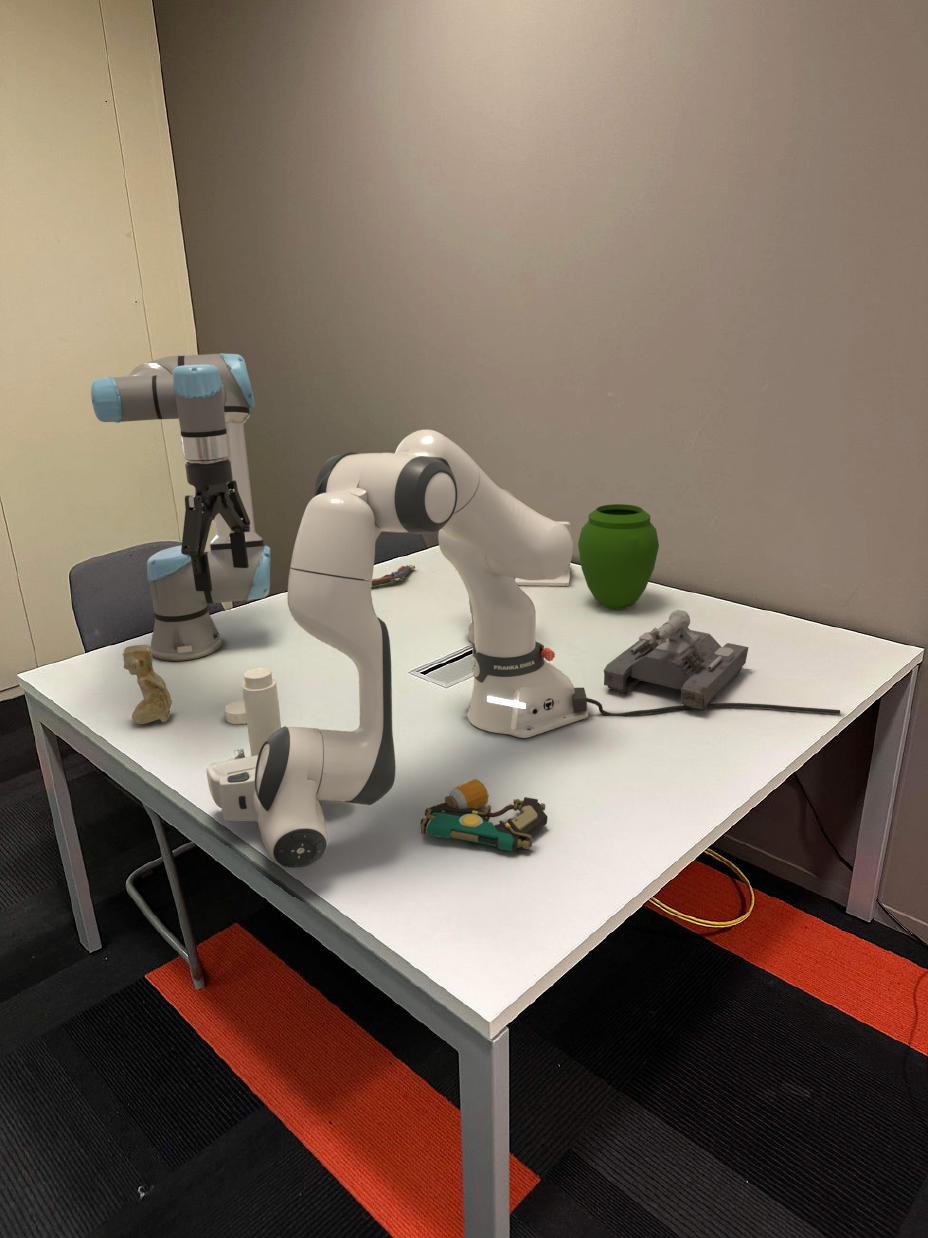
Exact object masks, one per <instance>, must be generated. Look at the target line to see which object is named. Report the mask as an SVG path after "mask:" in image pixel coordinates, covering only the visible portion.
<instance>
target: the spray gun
mask: <svg viewBox="0 0 928 1238" xmlns="http://www.w3.org/2000/svg"><path fill="white" fill-rule="evenodd" d="M489 797H490V793H489V790H488V787H487V786H486V784H485V783H484V782H483V781H481V780H480V779H478V778H474V779H471V780H469V781H467V782H465V783H462V784H460V785H458V786H456V787H453V788H452V789H451V790H450V791H449V792H448V795H447V796H445V797H444V802H441V803H439V804H436V805H433V806H430V807H426V808H425V809H424V817H423V818H421V820H420V835H423V836H424V835H425V834H427V835H428V836H433V837H438V838H443V839H447V840H451V839H456V840H459V841H460V840H461V841H466V842H471V843H476V844H482V845H487V846H493V847H495V848H497V849H498V850H503V851H508V852H514V851H517V850H518V848H522V849H525V850H528V849H531V848H532V847H533V843H534V842H533V841H534V840H533V835H535V834H536V833H537V832H538V831H540V830H541V829H542V828H544V827H545V826H546V825H547V824H548V815H547V814H546V813H545V810H546V804H545V803H541V802H539V799H537V798H532V797H527V796H524V797H523V799H522V800H521V799H519V798H516V799H515V798H514V799H513V801H512V804H508V805H506V806H504V807H503V808H502V809H500V810H498V811H494V812H492V807H491V805H487V804H488V803H489ZM486 805H487V806H486ZM484 806H486V809H479V808H481V807H484ZM510 810H513V811H514V812H517V811H518V812H519V815H517V816H515V817H514V818H512V819H508V820H507V822H504V821H503V820H499V823H496V824H494V823H493V822H490V820H491V818H497V817H500V816H502V815H504V814H505V813H507V812H508V811H510ZM528 839H529V840H528Z"/></svg>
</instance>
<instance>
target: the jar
mask: <svg viewBox="0 0 928 1238" xmlns="http://www.w3.org/2000/svg"><path fill="white" fill-rule="evenodd" d="M242 676H243V678H244V682H243V683H242V684H241V689H242V696H243V697H242V698H243V700H244V705H245V712H246V720H247V723H246V727H247V733H248V734H247V735H248V741H249V742H248V743H249V749H250V757H251V756H256V755H259V752H260V749H261V747H262V745H263V744H264V743H265V742H266V740H267V739H268V738H269V737H270V736H271V735H272V734H273V733H275V732H276V731H277V730H278V729H280V728H282V722H281V715H280V713H281V712H280V705H279V696H278V695H279V694H278V687H277V681H276V679H275V678H273V672H272V670H271V669H270V668H268V667H254V668H253V667H252V668H250V669H248V670H245V672H244V674H243V675H242Z"/></svg>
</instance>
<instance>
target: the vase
mask: <svg viewBox="0 0 928 1238" xmlns="http://www.w3.org/2000/svg"><path fill="white" fill-rule="evenodd" d="M587 516H588V517H587V518H588V521H587V522H586V523H585V524H584V525H583V526H582V527H581V529H580V534H579V538H578V541H577V546H578V554H579V562H580V569H581V571H582V574H583V577H584V580H585V583H586V585H587V588H588V590H589V591H590V594H592V597H593V598H594V600H595V601H596V602H597V603H598V604H599V605H600V606H602V607H604V608H606V609H609V610H625V609H628V608H630V607H632V606H634V604H636V602H638V601H639V599H640V597H641V596H642V595H643V593H644V592H645V590H646V588H647V586H648V584H649V581H650V579H651V577H652V574H653V572H654V570H655V566H656V562H657V557H658V552H659V548H660V544H659V543H660V542H659V537H658V531H657V528H656V527H655V526H654V524H653V523H652V522H651V515H650V514H649V512H647V511H645V510H644V509H643V508H642V507H641V506H638V505H633V504H622V503H621V504H619V503H616V504H615V503H614V504H604V505H601V506H598V507H597V508H595V509H594V510H592V511H591V512H590V513H589V514H588V515H587Z"/></svg>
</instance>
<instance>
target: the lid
mask: <svg viewBox="0 0 928 1238" xmlns="http://www.w3.org/2000/svg"><path fill="white" fill-rule="evenodd" d="M224 714H225V720H226V721H227V722H228V723H229V724H231V725H245V724H247V720H246V712H245V705H244V699H241V700H237V701H236V700H235V701H233V702H231V703H229V704H227V705H226V706H225V708H224Z"/></svg>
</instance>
